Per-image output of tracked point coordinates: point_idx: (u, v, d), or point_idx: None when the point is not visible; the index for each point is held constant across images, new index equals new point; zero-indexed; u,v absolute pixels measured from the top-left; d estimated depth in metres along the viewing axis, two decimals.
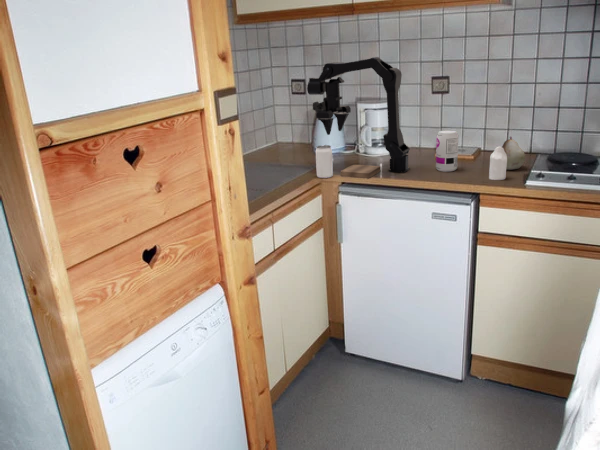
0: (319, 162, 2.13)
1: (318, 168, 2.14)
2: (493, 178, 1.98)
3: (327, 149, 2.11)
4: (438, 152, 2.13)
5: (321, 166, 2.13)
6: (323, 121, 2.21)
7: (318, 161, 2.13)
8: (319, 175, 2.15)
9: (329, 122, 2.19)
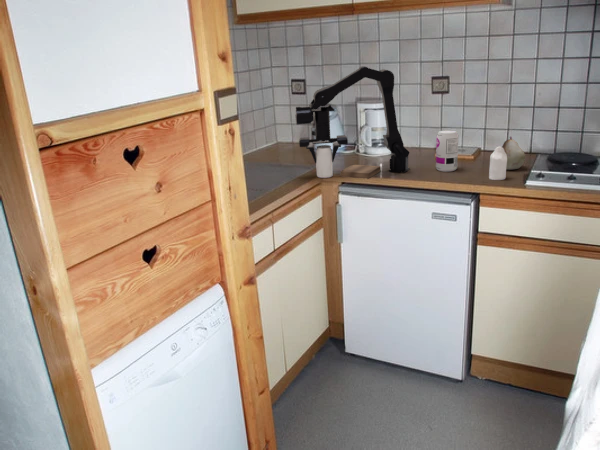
0: (319, 161, 2.13)
1: (318, 168, 2.14)
2: (493, 178, 1.98)
3: (327, 149, 2.11)
4: (438, 152, 2.13)
5: (321, 166, 2.13)
6: None
7: (318, 161, 2.13)
8: (319, 175, 2.15)
9: None
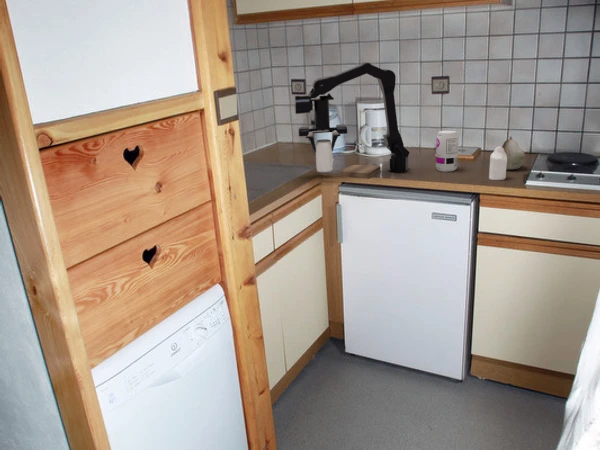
0: (318, 156, 2.12)
1: (317, 162, 2.14)
2: (493, 178, 1.98)
3: (326, 143, 2.10)
4: (438, 152, 2.13)
5: (320, 160, 2.13)
6: None
7: (317, 155, 2.13)
8: (318, 169, 2.14)
9: None
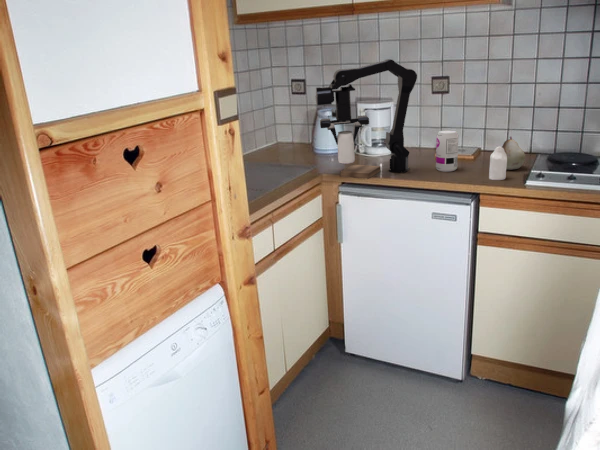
0: (340, 147, 2.12)
1: (339, 154, 2.13)
2: (493, 178, 1.98)
3: (348, 134, 2.10)
4: (438, 152, 2.13)
5: (342, 152, 2.12)
6: None
7: (339, 147, 2.12)
8: (340, 161, 2.14)
9: None
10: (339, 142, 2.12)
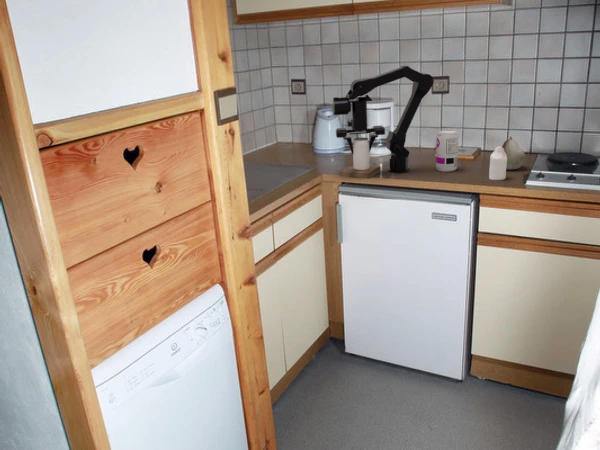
0: (356, 154, 2.13)
1: (355, 160, 2.14)
2: (493, 178, 1.98)
3: (364, 141, 2.11)
4: (438, 152, 2.13)
5: (357, 158, 2.13)
6: None
7: (355, 153, 2.13)
8: (356, 167, 2.15)
9: None
10: (355, 149, 2.13)
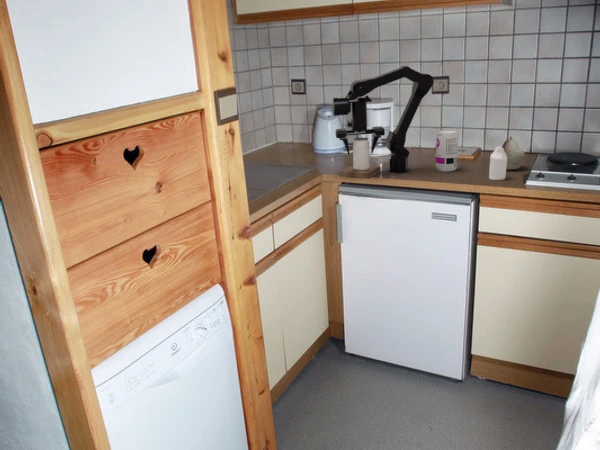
0: (355, 154, 2.13)
1: (355, 160, 2.14)
2: (493, 178, 1.98)
3: (364, 141, 2.11)
4: (438, 152, 2.13)
5: (357, 158, 2.13)
6: None
7: (355, 153, 2.13)
8: (355, 167, 2.15)
9: None
10: (355, 149, 2.13)
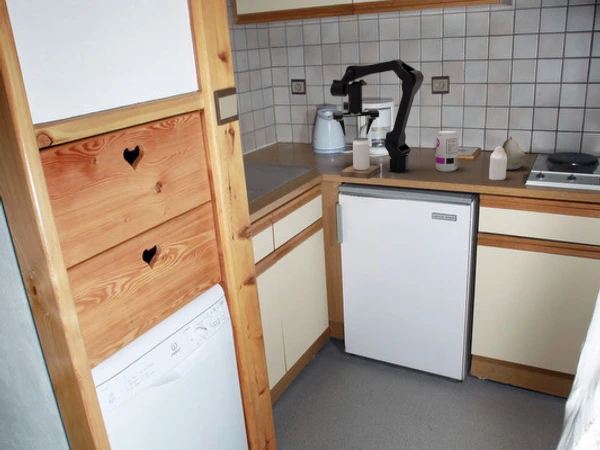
0: (355, 154, 2.13)
1: (355, 160, 2.14)
2: (493, 178, 1.98)
3: (364, 141, 2.11)
4: (438, 152, 2.13)
5: (357, 158, 2.13)
6: None
7: (355, 153, 2.13)
8: (355, 167, 2.15)
9: None
10: (355, 149, 2.13)
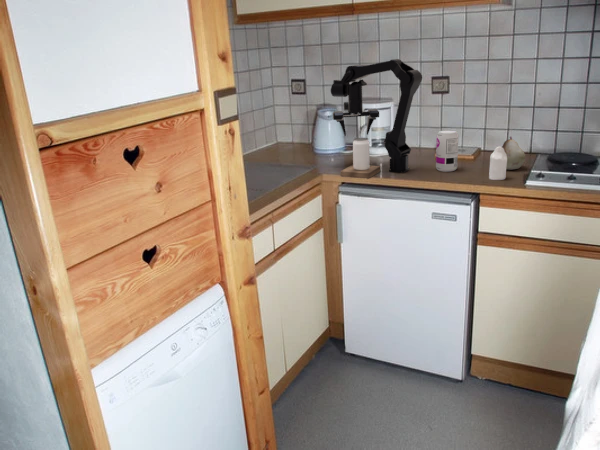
0: (355, 154, 2.13)
1: (355, 160, 2.14)
2: (493, 178, 1.98)
3: (364, 141, 2.11)
4: (438, 152, 2.13)
5: (357, 158, 2.13)
6: None
7: (355, 153, 2.13)
8: (355, 167, 2.15)
9: None
10: (355, 149, 2.13)
